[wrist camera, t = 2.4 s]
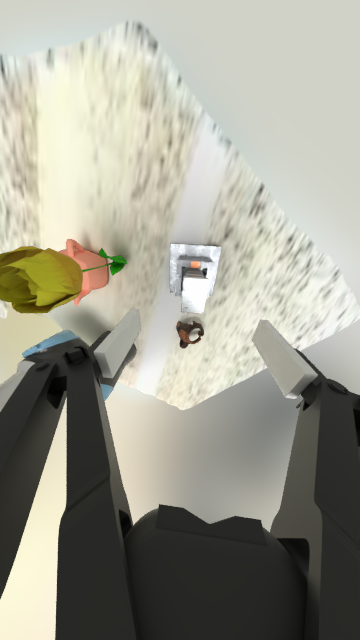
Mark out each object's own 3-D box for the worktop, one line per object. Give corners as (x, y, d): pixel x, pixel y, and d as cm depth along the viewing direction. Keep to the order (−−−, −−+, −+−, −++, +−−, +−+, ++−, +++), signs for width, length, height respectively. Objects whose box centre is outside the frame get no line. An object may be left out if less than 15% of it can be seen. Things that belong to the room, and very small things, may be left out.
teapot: (109, 244, 40) (84, 245, 31) (111, 299, 49) (93, 312, 40) (70, 233, 39) (33, 231, 30) (79, 291, 48) (54, 302, 39)
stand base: (170, 290, 45) (163, 306, 35) (171, 243, 38) (163, 244, 27) (211, 293, 45) (217, 310, 34) (220, 246, 37) (231, 249, 27)
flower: (134, 276, 44) (53, 328, 18) (110, 269, 43) (-10, 312, 18) (137, 247, 39) (34, 262, 14) (110, 239, 39) (-51, 238, 13)
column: (185, 281, 42) (180, 311, 24) (186, 260, 38) (182, 277, 21) (199, 282, 41) (204, 313, 24) (201, 261, 38) (209, 279, 21)
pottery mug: (178, 314, 50) (189, 322, 44) (197, 317, 55) (210, 325, 49) (169, 341, 54) (178, 353, 47) (188, 342, 59) (199, 353, 52)
